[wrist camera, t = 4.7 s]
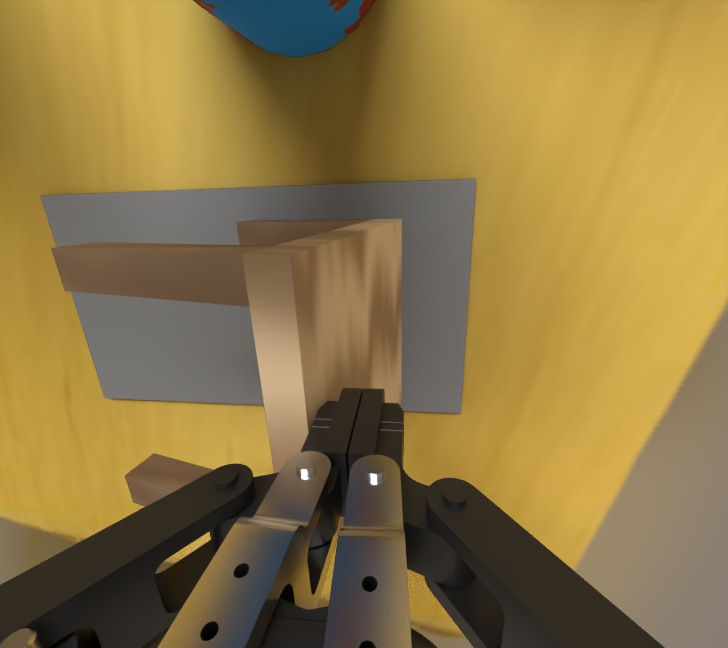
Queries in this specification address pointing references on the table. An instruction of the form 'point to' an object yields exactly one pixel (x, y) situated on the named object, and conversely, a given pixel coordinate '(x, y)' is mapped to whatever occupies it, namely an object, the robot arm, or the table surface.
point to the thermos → (290, 22)
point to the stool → (272, 315)
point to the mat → (233, 323)
